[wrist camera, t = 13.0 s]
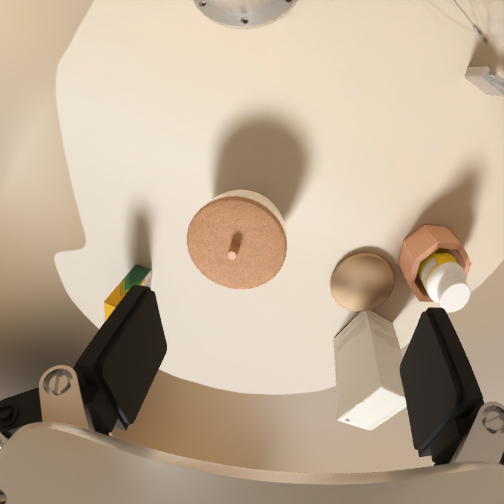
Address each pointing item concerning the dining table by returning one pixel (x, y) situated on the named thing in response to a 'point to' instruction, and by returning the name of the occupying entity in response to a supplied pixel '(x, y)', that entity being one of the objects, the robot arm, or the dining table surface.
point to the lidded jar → (238, 239)
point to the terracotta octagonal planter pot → (423, 246)
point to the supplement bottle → (444, 280)
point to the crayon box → (127, 287)
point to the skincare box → (368, 371)
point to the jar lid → (362, 282)
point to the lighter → (486, 80)
